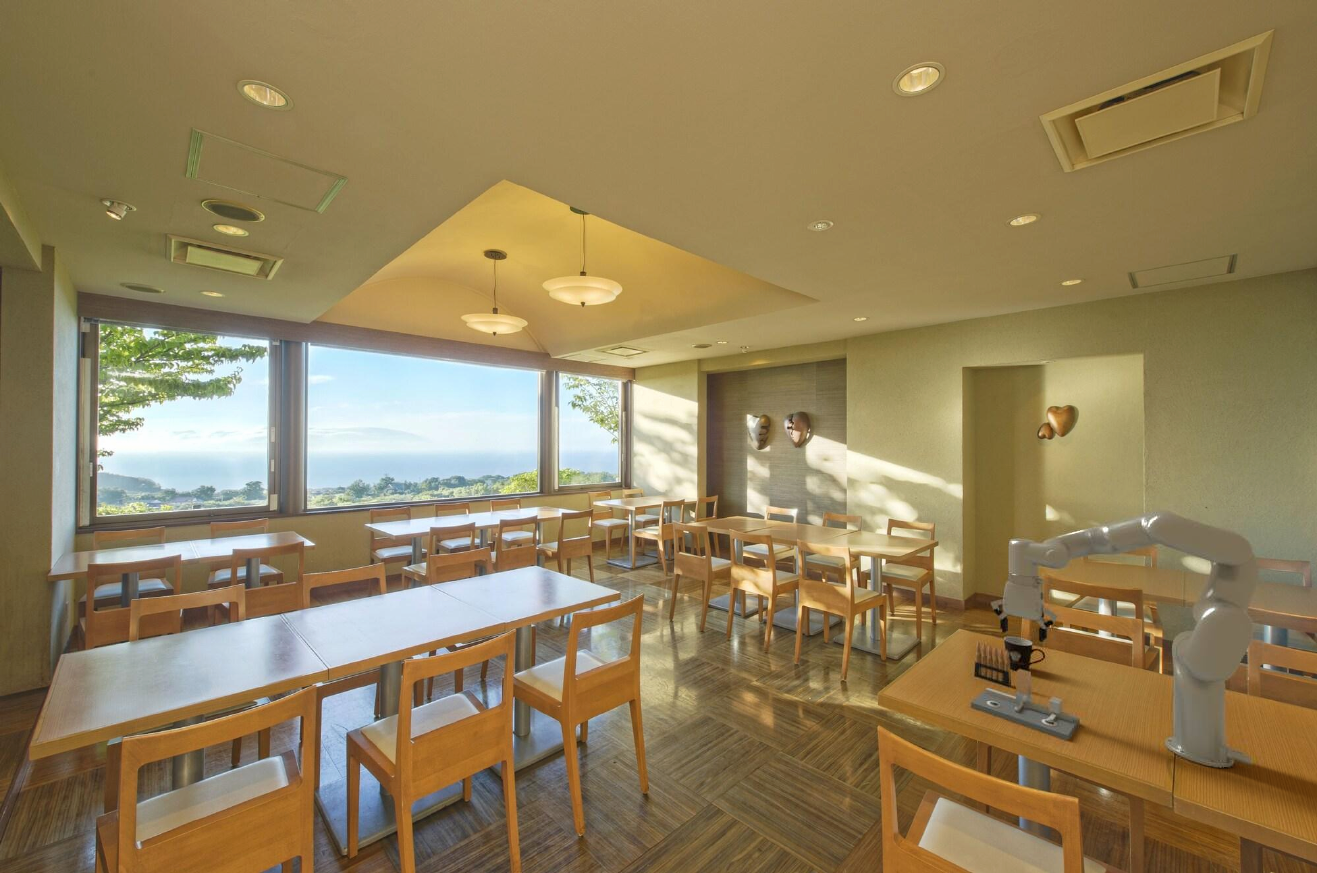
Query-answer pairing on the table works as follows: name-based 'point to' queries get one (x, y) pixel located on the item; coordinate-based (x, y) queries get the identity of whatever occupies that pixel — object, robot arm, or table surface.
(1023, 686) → the sliding leg
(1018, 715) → the grey slotted base plate
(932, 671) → the table surface
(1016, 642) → the coffee mug
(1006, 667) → the ammunition clip
